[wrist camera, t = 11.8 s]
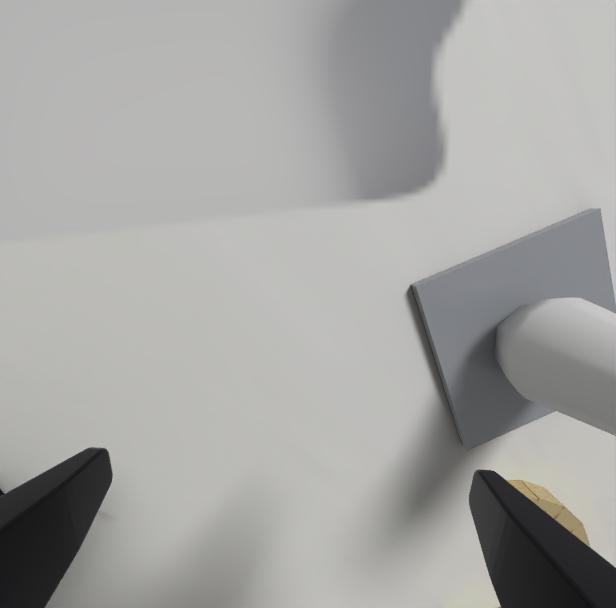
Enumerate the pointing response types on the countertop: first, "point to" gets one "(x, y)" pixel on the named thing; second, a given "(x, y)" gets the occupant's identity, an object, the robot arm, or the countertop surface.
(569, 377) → the salt shaker
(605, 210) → the countertop surface
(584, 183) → the countertop surface
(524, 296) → the coaster
